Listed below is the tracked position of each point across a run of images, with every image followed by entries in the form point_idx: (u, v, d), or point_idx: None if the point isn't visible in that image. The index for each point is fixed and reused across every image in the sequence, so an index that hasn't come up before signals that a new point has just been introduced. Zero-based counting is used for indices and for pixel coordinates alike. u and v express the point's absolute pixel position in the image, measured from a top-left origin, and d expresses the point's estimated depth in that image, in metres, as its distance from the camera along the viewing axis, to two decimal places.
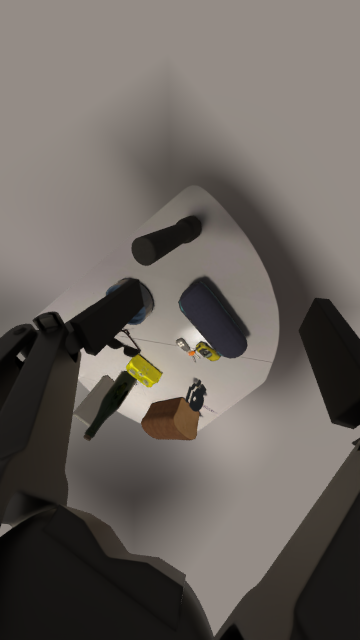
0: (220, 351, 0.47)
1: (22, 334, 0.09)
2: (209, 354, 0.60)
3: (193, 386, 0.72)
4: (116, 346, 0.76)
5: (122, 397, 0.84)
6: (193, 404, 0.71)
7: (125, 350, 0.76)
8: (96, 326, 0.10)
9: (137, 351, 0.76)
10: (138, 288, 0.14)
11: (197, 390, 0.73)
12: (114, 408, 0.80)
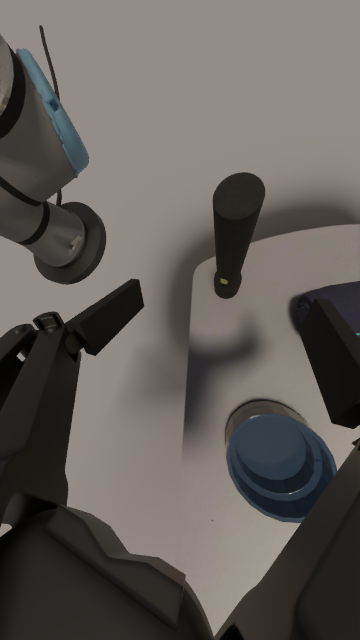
0: None
1: (22, 334, 0.09)
2: None
3: None
4: None
5: None
6: None
7: None
8: (96, 326, 0.10)
9: None
10: (138, 288, 0.14)
11: None
12: None
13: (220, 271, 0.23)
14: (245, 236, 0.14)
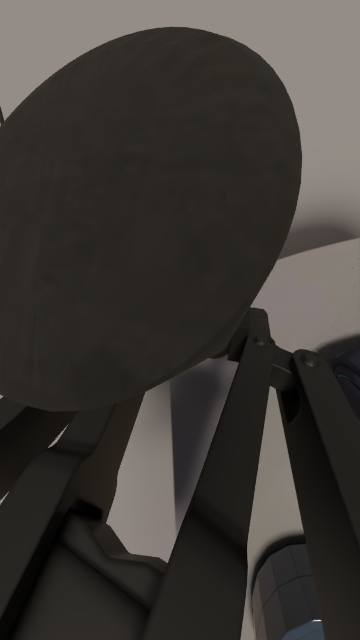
0: None
1: None
2: None
3: None
4: None
5: None
6: None
7: None
8: None
9: None
10: None
11: None
12: None
13: None
14: (210, 356, 0.04)
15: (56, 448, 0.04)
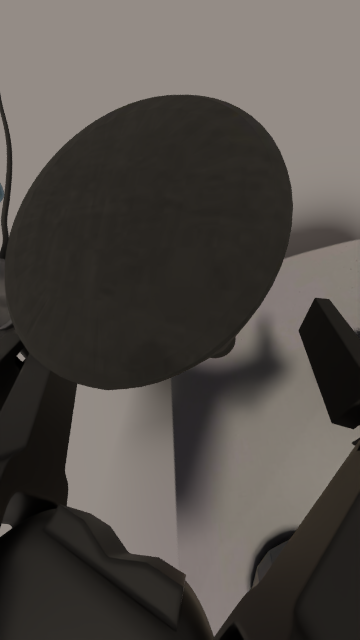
0: None
1: None
2: None
3: None
4: None
5: None
6: None
7: None
8: None
9: None
10: None
11: None
12: None
13: None
14: (216, 353, 0.04)
15: None
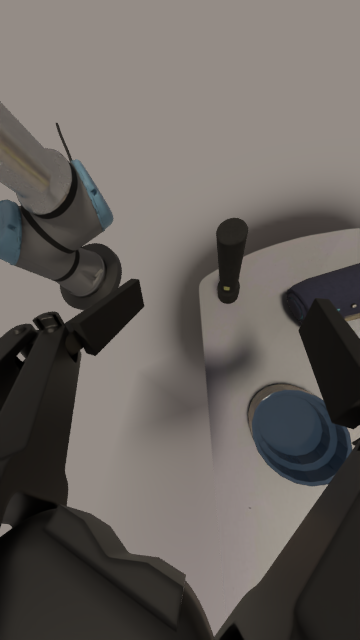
0: None
1: (22, 334, 0.09)
2: None
3: None
4: None
5: None
6: None
7: None
8: (96, 326, 0.10)
9: None
10: (138, 288, 0.14)
11: None
12: None
13: (223, 280, 0.30)
14: (239, 254, 0.22)
15: None
